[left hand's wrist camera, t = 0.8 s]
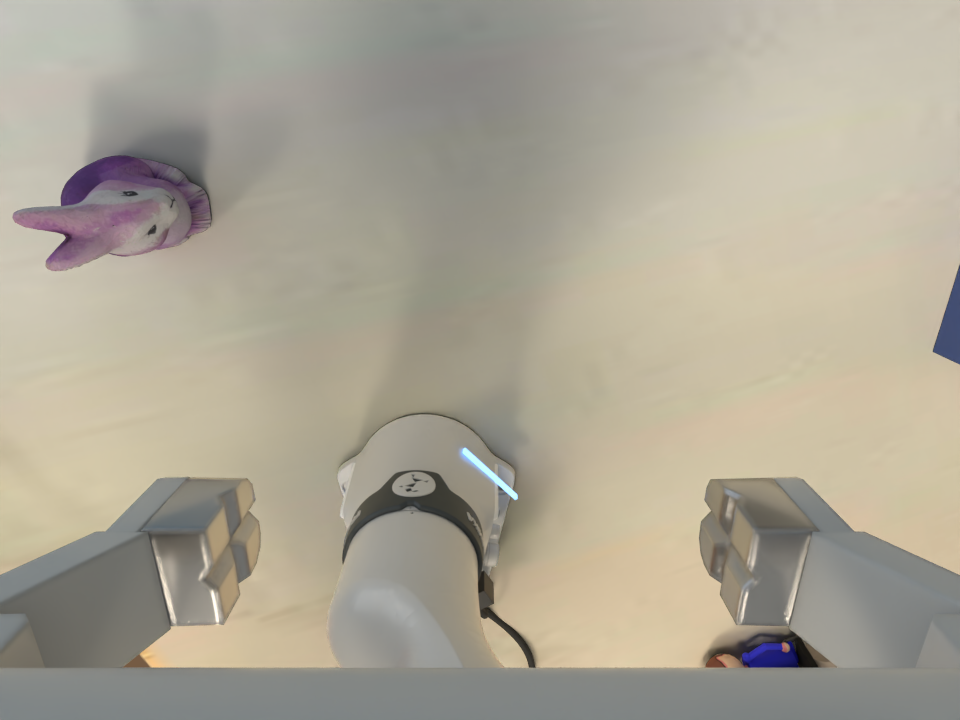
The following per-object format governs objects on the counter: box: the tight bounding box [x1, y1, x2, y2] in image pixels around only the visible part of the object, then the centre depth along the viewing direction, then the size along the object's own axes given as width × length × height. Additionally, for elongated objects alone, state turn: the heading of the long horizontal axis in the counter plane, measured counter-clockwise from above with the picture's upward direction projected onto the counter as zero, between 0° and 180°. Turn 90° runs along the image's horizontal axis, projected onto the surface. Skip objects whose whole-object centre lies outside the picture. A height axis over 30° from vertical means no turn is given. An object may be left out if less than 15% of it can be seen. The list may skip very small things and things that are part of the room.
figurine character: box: [705, 635, 837, 668], centre depth 67 cm, size 7×8×15 cm
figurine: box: [13, 156, 211, 271], centre depth 44 cm, size 9×10×15 cm
